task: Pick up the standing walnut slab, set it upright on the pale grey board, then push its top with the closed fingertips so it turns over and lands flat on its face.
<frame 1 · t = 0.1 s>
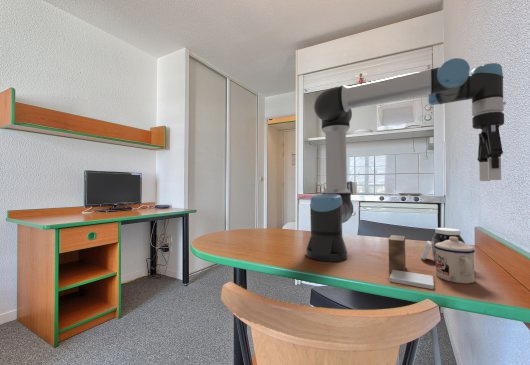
hand: (489, 180, 78), 28 cm above the table, tool pointing down, fingers open, 13 cm apart
grey board: (411, 280, 68), on the table
spread jar: (440, 263, 84), on the table
walnut slab: (397, 269, 77), on the table
teacup with lid: (457, 280, 68), on the table
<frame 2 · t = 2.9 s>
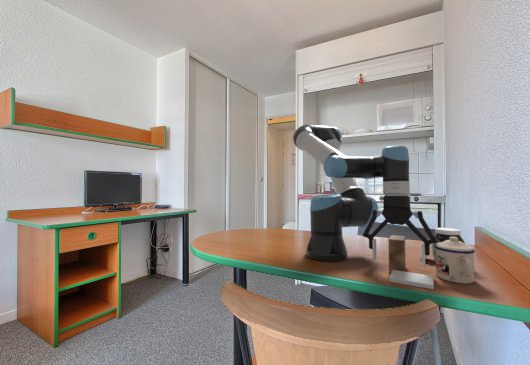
hand: (398, 262, 77), 2 cm above the table, tool pointing down, fingers open, 13 cm apart
teacup with lid: (457, 280, 68), on the table, touching gripper
everything else where it was.
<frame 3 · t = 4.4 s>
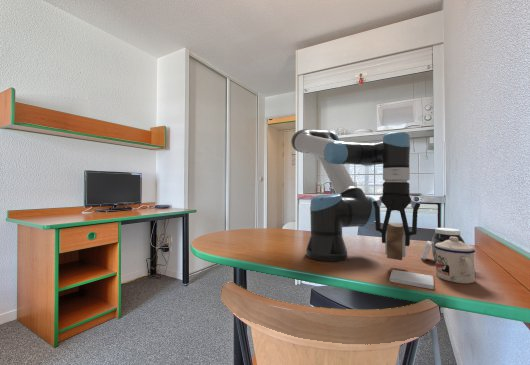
hand: (395, 254, 78), 4 cm above the table, tool pointing down, fingers closed on walnut slab, 4 cm apart
walnut slab: (395, 255, 78), point 4 cm above the table, touching gripper
teacup with lid: (457, 280, 68), on the table
everything else where it was.
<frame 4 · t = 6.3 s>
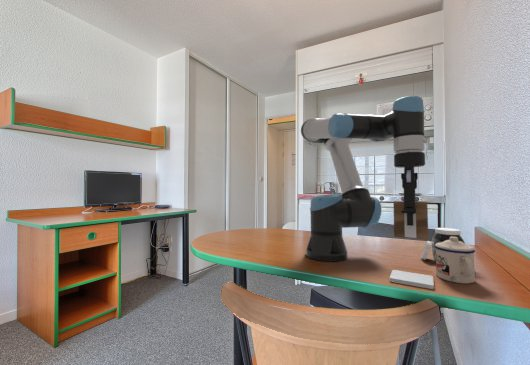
hand: (410, 235, 68), 12 cm above the table, tool pointing down, fingers closed on walnut slab, 4 cm apart
walnut slab: (411, 237, 68), point 12 cm above the table, touching gripper
everything else where it was.
when the fingers open (2 cm above the table, at t = 8.2 s): walnut slab stays where it is, resting on grey board.
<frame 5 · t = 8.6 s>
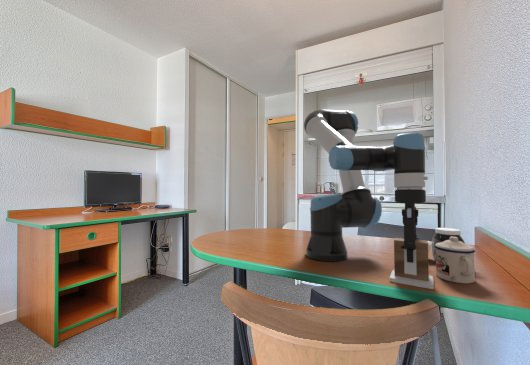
hand: (411, 268, 68), 3 cm above the table, tool pointing down, fingers open, 10 cm apart
walnut slab: (411, 276, 68), point 1 cm above the table, touching grey board
everything else where it was.
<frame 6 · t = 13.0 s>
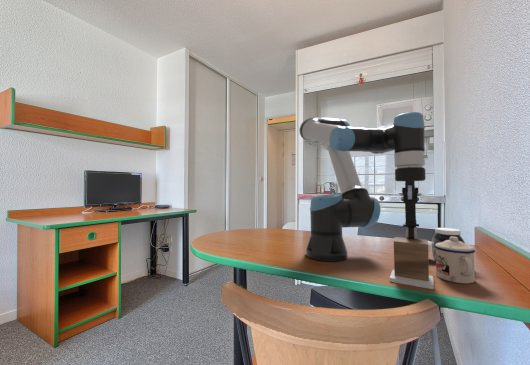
hand: (411, 249, 70), 8 cm above the table, tool pointing down, fingers closed
walnut slab: (411, 275, 68), point 1 cm above the table, tilted 7°, touching grey board, gripper
everything else where it was.
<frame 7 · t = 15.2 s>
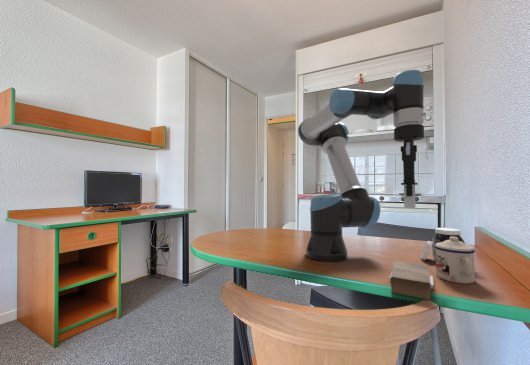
hand: (409, 207, 70), 20 cm above the table, tool pointing down, fingers closed
walnut slab: (411, 270, 66), point 3 cm above the table, tilted 98°, touching grey board
everything else where it was.
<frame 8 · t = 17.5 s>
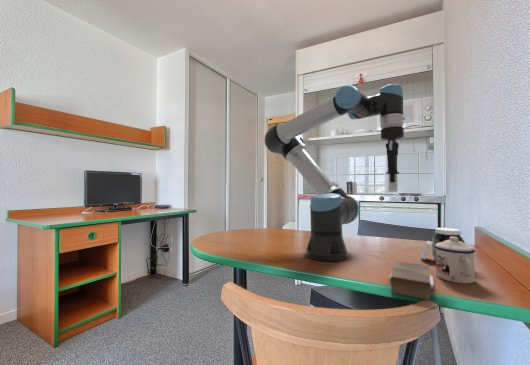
hand: (393, 191, 89), 24 cm above the table, tool pointing down, fingers closed
nothing on the table moved.
at the end: walnut slab tilted 98°; walnut slab inside the target area (5.8 cm from its centre), point 3.3 cm above the table; the gripper is holding nothing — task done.
